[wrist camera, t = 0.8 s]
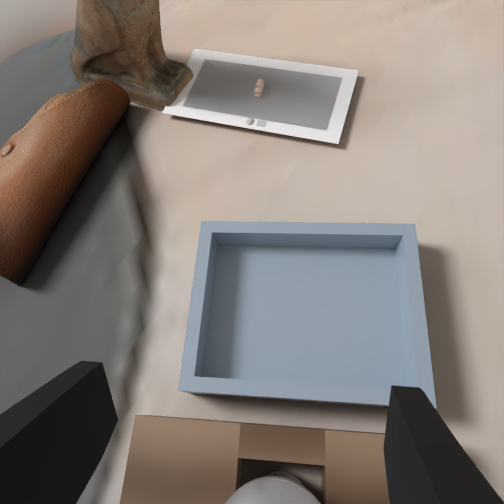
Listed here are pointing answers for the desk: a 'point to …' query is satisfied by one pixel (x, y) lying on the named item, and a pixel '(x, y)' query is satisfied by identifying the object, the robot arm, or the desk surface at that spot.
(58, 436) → the robot arm
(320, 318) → the tray
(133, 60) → the brown carved statuette
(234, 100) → the touchpad
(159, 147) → the desk surface
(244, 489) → the steel pin
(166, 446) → the brown flat block
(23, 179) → the sunglasses case
